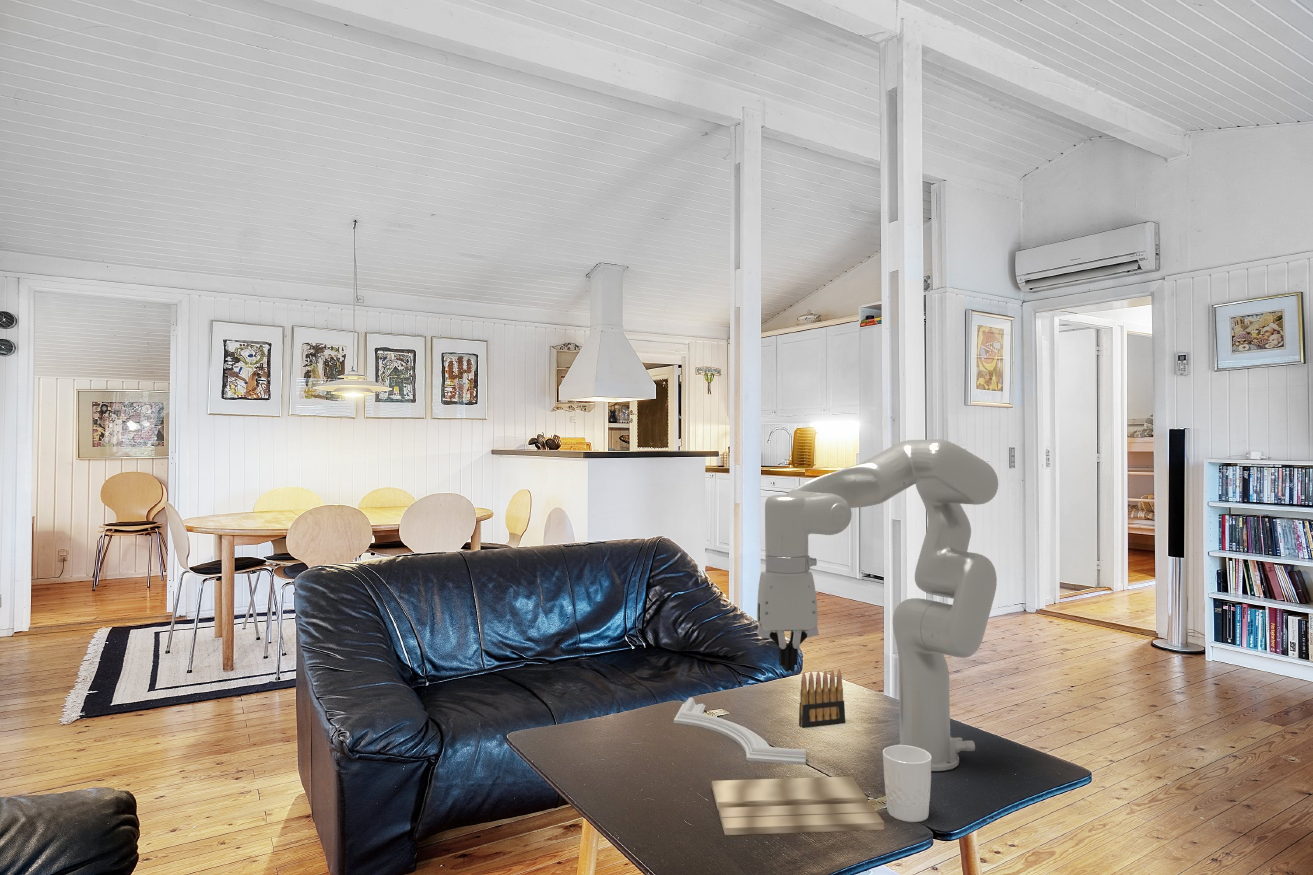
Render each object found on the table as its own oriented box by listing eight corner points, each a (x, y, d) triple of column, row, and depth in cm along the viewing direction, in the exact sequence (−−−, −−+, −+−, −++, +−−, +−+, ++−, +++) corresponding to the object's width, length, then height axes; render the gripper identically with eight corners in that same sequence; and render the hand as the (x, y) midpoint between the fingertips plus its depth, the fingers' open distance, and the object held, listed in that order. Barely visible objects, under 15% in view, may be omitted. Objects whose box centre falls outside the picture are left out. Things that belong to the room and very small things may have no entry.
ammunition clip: (841, 720, 176) (840, 667, 176) (845, 723, 174) (844, 669, 174) (798, 725, 173) (798, 671, 173) (802, 728, 171) (801, 673, 171)
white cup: (878, 802, 134) (877, 744, 135) (923, 802, 134) (923, 744, 134) (890, 824, 127) (889, 762, 127) (939, 824, 126) (938, 763, 127)
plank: (851, 782, 142) (851, 775, 142) (867, 806, 133) (867, 798, 133) (711, 787, 140) (711, 780, 140) (718, 811, 131) (718, 803, 131)
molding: (820, 764, 153) (820, 749, 153) (773, 777, 146) (773, 762, 146) (696, 705, 188) (696, 693, 188) (654, 714, 182) (654, 702, 182)
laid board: (870, 809, 132) (869, 802, 132) (884, 829, 125) (884, 821, 125) (719, 814, 130) (718, 807, 130) (724, 835, 123) (724, 827, 123)
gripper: (823, 561, 140) (824, 662, 139) (741, 562, 139) (742, 664, 139) (834, 567, 132) (836, 674, 132) (748, 568, 132) (749, 676, 131)
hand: (788, 669), depth 135 cm, fingers closed
